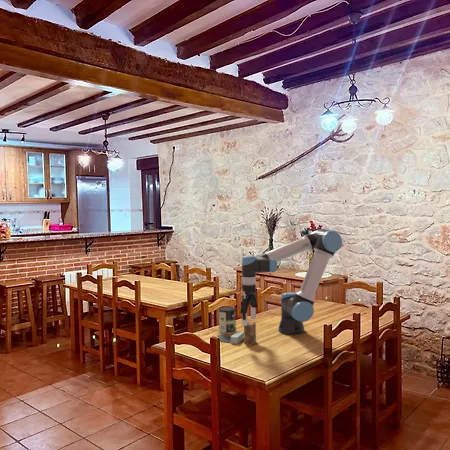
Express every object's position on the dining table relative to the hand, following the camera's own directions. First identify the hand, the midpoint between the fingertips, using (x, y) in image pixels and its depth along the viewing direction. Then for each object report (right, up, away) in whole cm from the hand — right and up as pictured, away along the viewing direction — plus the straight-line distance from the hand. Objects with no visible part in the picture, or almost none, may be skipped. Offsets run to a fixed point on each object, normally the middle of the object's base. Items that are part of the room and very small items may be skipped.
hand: (249, 322), depth 239 cm
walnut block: (+1, -12, +1) cm, 12 cm away
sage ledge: (-6, -12, +5) cm, 14 cm away
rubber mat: (-14, -12, +8) cm, 20 cm away
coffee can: (-12, -11, +22) cm, 27 cm away
